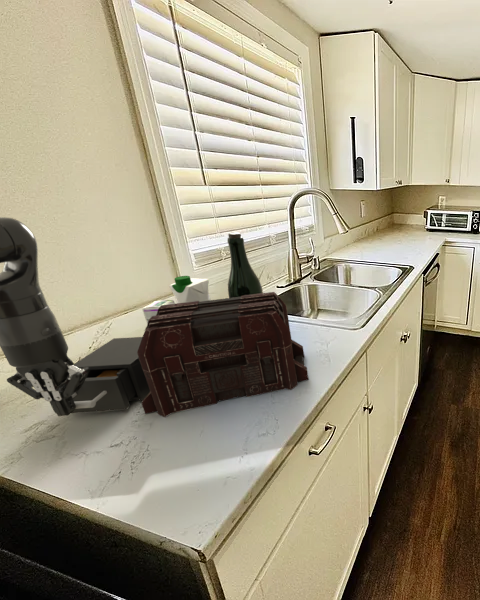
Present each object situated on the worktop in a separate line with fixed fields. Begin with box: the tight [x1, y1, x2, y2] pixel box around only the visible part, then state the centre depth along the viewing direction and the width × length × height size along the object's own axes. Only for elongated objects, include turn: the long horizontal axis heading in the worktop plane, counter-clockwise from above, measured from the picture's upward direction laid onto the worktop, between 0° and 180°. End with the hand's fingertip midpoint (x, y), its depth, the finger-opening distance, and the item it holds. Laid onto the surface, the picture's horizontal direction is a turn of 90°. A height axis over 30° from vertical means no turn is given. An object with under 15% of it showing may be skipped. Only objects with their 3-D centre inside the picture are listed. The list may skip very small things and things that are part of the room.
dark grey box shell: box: [73, 336, 150, 402], centre depth 80 cm, size 14×13×10 cm
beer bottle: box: [227, 232, 264, 298], centre depth 102 cm, size 10×10×33 cm
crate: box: [137, 291, 309, 418], centre depth 79 cm, size 35×19×21 cm, turn 110°
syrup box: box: [142, 299, 176, 325], centre depth 97 cm, size 6×6×14 cm
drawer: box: [61, 368, 137, 414], centre depth 73 cm, size 17×12×8 cm
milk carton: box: [168, 275, 211, 303], centre depth 104 cm, size 9×9×20 cm
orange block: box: [97, 370, 120, 377], centre depth 75 cm, size 4×4×4 cm
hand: (67, 413), depth 64 cm, fingers closed
